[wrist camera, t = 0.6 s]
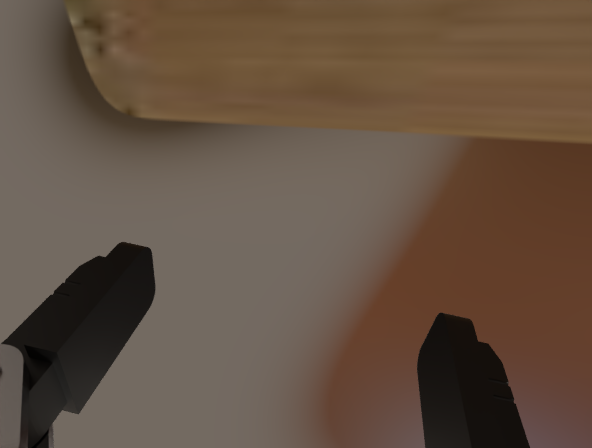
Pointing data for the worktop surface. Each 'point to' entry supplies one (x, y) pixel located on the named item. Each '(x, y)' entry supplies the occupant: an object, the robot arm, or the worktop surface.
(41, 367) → the robot arm
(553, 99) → the worktop surface
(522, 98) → the worktop surface
